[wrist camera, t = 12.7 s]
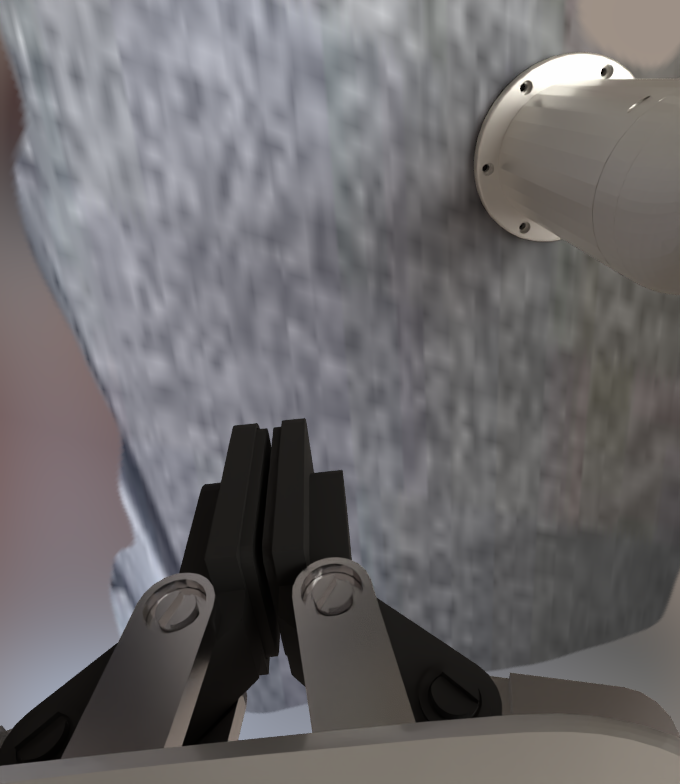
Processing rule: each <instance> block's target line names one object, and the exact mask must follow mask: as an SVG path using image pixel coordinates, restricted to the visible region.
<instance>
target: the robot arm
mask: <svg viewBox="0 0 680 784" xmlns="http://www.w3.org/2000/svg"><path fill="white" fill-rule="evenodd" d="M602 68H603V69H604V73H603V75H602V76H601V70H602ZM523 83H524V84H525V89H524V91H522V92H521V91H520V86H521V84H523ZM485 164H487V166H488V167H487V170H486V171H483V170H482V168H483V166H484V165H485ZM474 177H475V182H476V188H477V192H478V194H479V197H480V199H481V202H482V204H483V206H484V207H485V209H486V211H487V212H488V214H489V215H490V217H492V218H493V219H494V220H495V221H496V222H497V223H498V224H499V225H500V226H501V227H502V228H504V229H505V230H507V231H508V232H509V233H511V234H513V235H516V236H518V237H520V238H523V239H527V240H532V241H536V242H552V241H557V240H565V241H567V242H568V243H570V244H572V245H573V246H575V247H576V248H578V249H580V250H581V251H583V252H585V253H586V254H588V255H590V256H591V257H593V258H595V259H596V260H598V261H599V262H601V263H603V264H604V265H606V266H608V267H609V268H611V269H613V270H614V271H616V272H618V273H619V274H621V275H623V276H625V277H627V278H628V279H630V280H632V281H634V282H635V283H637V284H639V285H641V286H643V287H645V288H648V289H650V290H653V291H657V292H660V293H665V294H671V295H680V78H679V79H635V77H634V76H633V75H632V73H631V72H630V71H629V70H628V69H627V68H625V67H624V66H623V65H621V64H620V63H619V62H618V61H616V60H613V59H611V58H609V57H606V56H604V55H602V54H595V53H588V52H576V53H567V54H562V55H557V56H553V57H550V58H548V59H546V60H543V61H541V62H538V63H536V64H535V65H533V66H531V67H530V68H528V69H527V70H525V71H524V72H522V73H521V74H519V75H518V76H517V77H516V78H515V79H514V80H513V81H512V82H511V83H510V84H509V85H508V86H507V87H506V88H505V89H504V90H503V91H502V93H501V94H500V95H499V97H498V98H497V99H496V100H495V102H494V103H493V105H492V107H491V108H490V110H489V112H488V114H487V116H486V118H485V119H484V122H483V124H482V127H481V130H480V133H479V136H478V138H477V144H476V149H475V155H474ZM522 223H524V225H523V227H522V228H519V227H520V225H521V224H522ZM280 634H281V639H282V643H283V647H284V651H285V655H287V657H288V661H289V665H290V669H291V674H292V675H293V676H294V677H295V678H296V679H297V680H298V681H299V682H300V683H302V684H303V685H304V686H305V687H306V693H307V700H308V706H309V712H310V720H311V726H312V733H307V734H297V735H287V736H277V737H268V738H258V739H248V740H238V738H239V734H240V730H241V726H242V722H243V717H244V713H245V709H246V703H247V692H246V691H247V690H248V689H249V688H250V687H251V686H252V685H253V684H254V683H255V682H256V681H257V680H258V679H259V675H266V674H269V660H270V657H274V656H278V654H279V642H280ZM0 784H680V735H679V732H678V730H677V729H676V727H675V725H674V723H673V721H672V719H671V717H670V716H669V715H668V714H667V713H666V711H665V710H664V709H663V708H662V707H661V706H660V705H659V704H658V703H657V702H656V701H654V700H652V699H651V698H649V697H648V696H646V695H644V694H643V693H641V692H639V691H635V690H632V689H629V688H625V687H618V686H611V685H603V684H595V683H587V682H579V681H571V680H564V679H556V678H548V677H540V676H532V675H524V674H516V673H510V676H509V678H501V677H494V676H489V675H488V674H487V673H486V672H485V671H484V670H483V669H481V668H480V667H479V666H478V665H477V664H475V663H474V662H472V661H471V660H469V659H468V658H466V657H465V656H463V655H462V654H460V653H459V652H457V651H456V650H454V649H453V648H451V647H450V646H448V645H447V644H445V643H444V642H442V641H441V640H439V639H438V638H436V637H435V636H433V635H432V634H430V633H429V632H427V631H426V630H424V629H423V628H421V627H420V626H418V625H417V624H415V623H414V622H412V621H411V620H409V619H408V618H406V617H405V616H403V615H402V614H400V613H399V612H397V611H396V610H394V609H393V608H391V607H390V606H388V605H387V604H385V603H384V602H382V601H381V600H379V599H378V598H376V595H375V592H374V589H373V585H372V582H371V579H370V577H369V576H368V574H367V572H366V570H365V569H364V568H362V567H361V566H360V565H359V564H358V563H356V562H354V561H352V558H351V547H350V536H349V525H348V515H347V506H346V496H345V487H344V479H343V471H342V470H338V471H329V472H319V473H314V470H313V463H312V456H311V450H310V443H309V436H308V430H307V423H306V419H305V418H303V419H293V420H284V421H282V426H281V427H275V428H274V429H273V438H272V448H271V443H270V438H269V433H268V430H267V428H266V429H260V428H259V425H258V424H257V423H255V424H245V425H236V426H233V429H232V434H231V439H230V443H229V448H228V452H227V457H226V462H225V466H224V471H223V476H222V480H221V483H214V484H205V485H204V486H203V487H202V489H201V492H200V496H199V499H198V503H197V507H196V511H195V515H194V519H193V522H192V526H191V530H190V534H189V538H188V542H187V545H186V549H185V553H184V557H183V561H182V565H181V568H180V572H179V574H175V575H172V576H169V577H166V578H164V579H162V580H161V581H159V582H157V583H156V584H154V585H153V586H152V587H151V588H149V589H148V590H147V591H146V592H145V593H144V594H143V596H142V597H141V599H140V600H139V602H138V603H137V605H136V607H135V609H134V611H133V613H132V615H131V617H130V619H129V621H128V623H127V625H126V627H125V629H124V631H123V634H122V636H121V638H120V640H119V642H118V643H117V644H115V645H114V646H113V647H112V648H110V649H109V650H108V651H106V652H105V653H104V654H103V655H101V656H100V657H99V658H97V660H95V661H94V662H92V663H91V664H90V665H89V666H88V667H86V668H85V669H84V670H82V671H81V672H80V673H79V674H77V675H76V676H75V677H73V678H72V679H71V680H69V681H68V682H67V683H66V684H65V685H63V686H62V687H60V688H59V689H58V690H57V691H55V692H54V693H53V694H51V695H50V696H49V697H48V698H46V699H45V700H44V701H43V702H41V703H40V704H39V705H37V706H36V707H35V708H34V709H32V710H31V711H30V712H29V713H28V714H26V715H25V716H24V717H23V718H22V719H21V720H20V721H19V722H18V723H17V724H16V725H15V726H14V727H13V729H10V730H7V731H6V730H5V729H4V728H3V726H0Z"/></svg>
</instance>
